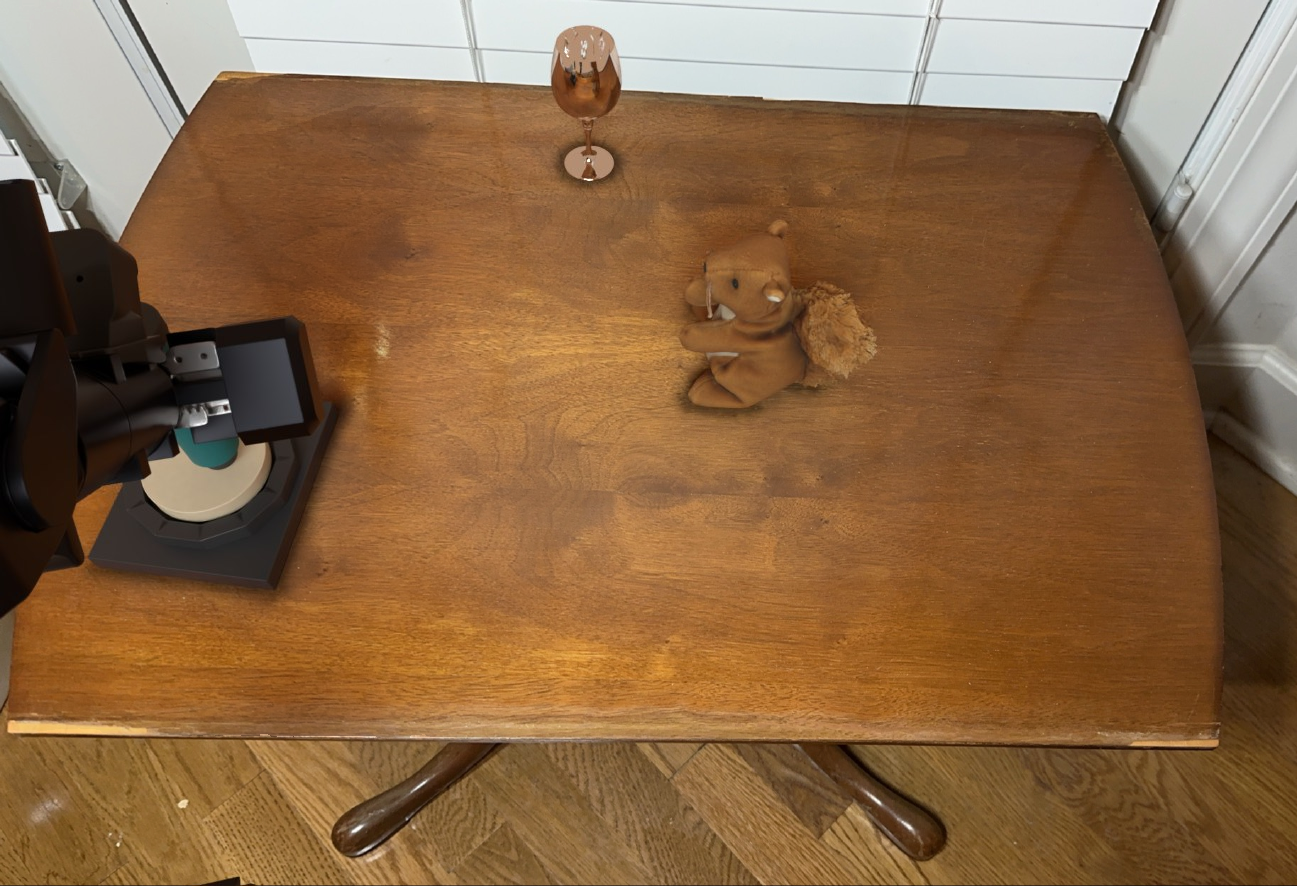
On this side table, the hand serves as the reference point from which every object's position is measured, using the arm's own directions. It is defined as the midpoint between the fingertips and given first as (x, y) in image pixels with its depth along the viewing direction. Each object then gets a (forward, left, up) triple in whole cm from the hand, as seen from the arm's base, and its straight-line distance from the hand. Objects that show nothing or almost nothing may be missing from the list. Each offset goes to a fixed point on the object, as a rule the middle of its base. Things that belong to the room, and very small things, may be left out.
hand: (177, 375), depth 55 cm
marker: (-1, 0, -7) cm, 7 cm away
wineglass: (+35, -19, -12) cm, 41 cm away
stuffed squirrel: (+15, -36, -12) cm, 41 cm away
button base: (-1, +1, -12) cm, 12 cm away
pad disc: (-1, +1, -9) cm, 9 cm away
